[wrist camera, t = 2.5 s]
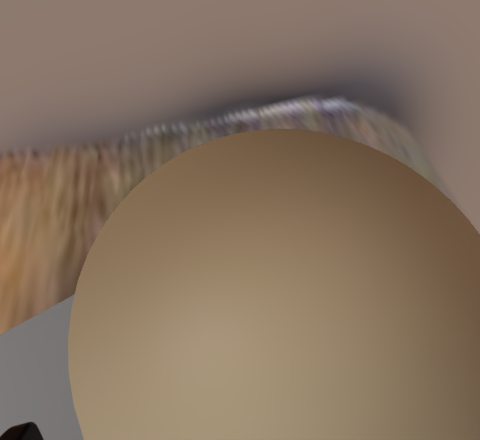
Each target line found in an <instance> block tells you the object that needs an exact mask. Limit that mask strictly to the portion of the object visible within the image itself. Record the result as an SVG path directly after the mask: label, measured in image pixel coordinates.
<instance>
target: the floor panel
mask: <svg viewBox="0 0 480 440" xmlns="http://www.w3.org/2000/svg"><path fill="white" fill-rule="evenodd" d="M73 300H74V295H73V296H71V297H69V298H67V299H65V300H64V301H62V302H60V303H58V304H56V305H54V306H52V307H51V308H49V309H47V310H45V311H43V312H41V313H39V314H38V315H36V316H34V317H32V318H30V319H28V320H27V321H25V322H23V323H21V324H19V325H17V326H15V327H14V328H12V329H10V330H8V331H6V332H4V333H2V334H1V335H0V436H1V435H2V434H3V433H4V432H5V431H6V430H7V429H9V428H10V427H12V426H15V425H19V424H23V423H26V422H34V423H35V424H36V425H37V426H38V428H39V430H40V432H41V435H42V437H43V439H44V440H84V438H83V435H82V432H81V428H80V425H79V422H78V418H77V415H76V411H75V408H74V404H73V397H72V391H71V384H70V378H69V366H68V334H69V325H70V316H71V308H72V304H73Z"/></svg>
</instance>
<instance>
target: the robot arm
mask: <svg viewBox="0 0 480 440" xmlns="http://www.w3.org/2000/svg"><path fill="white" fill-rule="evenodd" d="M0 440H44V439H43V437H42V435H41V432H40V430H39V428H38V426H37V425H36V424H35V423H34V422H26V423H23V424H19V425H15V426H12V427H10V428H9V429H7V430H6V431H5V432H4V433H3V434H2V435H1V436H0Z"/></svg>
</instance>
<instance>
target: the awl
mask: <svg viewBox="0 0 480 440" xmlns="http://www.w3.org/2000/svg"><path fill="white" fill-rule="evenodd" d="M68 366H69V378H70V384H71V391H72V397H73V404H74V408H75V411H76V415H77V418H78V422H79V425H80V428H81V432H82V435H83V438H84V440H480V234H479V233H478V232H477V230H476V229H475V228H474V226H473V225H472V224H471V222H470V221H469V220H468V219H467V218H466V216H465V215H464V214H463V213H462V212H461V211H460V210H459V209H458V208H457V207H456V206H455V204H454V203H453V202H452V201H451V200H450V199H449V198H447V197H446V196H445V195H444V194H443V193H442V192H441V191H440V190H438V189H437V188H436V187H435V186H434V185H433V184H432V183H430V182H429V181H428V180H426V179H425V178H424V177H422V176H421V175H419V174H418V173H417V172H415V171H414V170H413V169H411V168H410V167H408V166H406V165H404V164H403V163H401V162H399V161H398V160H396V159H394V158H392V157H391V156H389V155H387V154H385V153H382V152H380V151H378V150H376V149H374V148H371V147H369V146H367V145H364V144H361V143H358V142H355V141H353V140H350V139H347V138H343V137H339V136H335V135H331V134H326V133H322V132H315V131H307V130H299V129H267V130H254V131H248V132H243V133H237V134H232V135H228V136H225V137H221V138H218V139H214V140H211V141H209V142H206V143H204V144H201V145H199V146H196V147H194V148H191V149H189V150H187V151H186V152H184V153H182V154H180V155H178V156H176V157H174V158H173V159H171V160H169V161H168V162H166V163H165V164H163V165H162V166H161V167H159V168H158V169H156V170H155V171H153V172H152V173H151V174H149V175H148V176H147V177H146V178H145V179H144V180H143V181H142V182H140V183H139V184H138V185H137V186H136V187H135V188H134V189H133V190H132V191H131V192H130V193H129V194H128V195H127V196H126V197H125V198H124V200H123V201H122V202H121V203H120V204H119V205H118V206H117V207H116V209H115V210H114V211H113V213H112V214H111V216H110V217H109V219H108V220H107V222H106V223H105V224H104V226H103V227H102V229H101V230H100V232H99V234H98V236H97V238H96V240H95V242H94V244H93V245H92V247H91V249H90V251H89V253H88V256H87V258H86V261H85V263H84V266H83V269H82V271H81V274H80V277H79V279H78V283H77V287H76V291H75V295H74V300H73V304H72V308H71V316H70V325H69V334H68Z"/></svg>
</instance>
